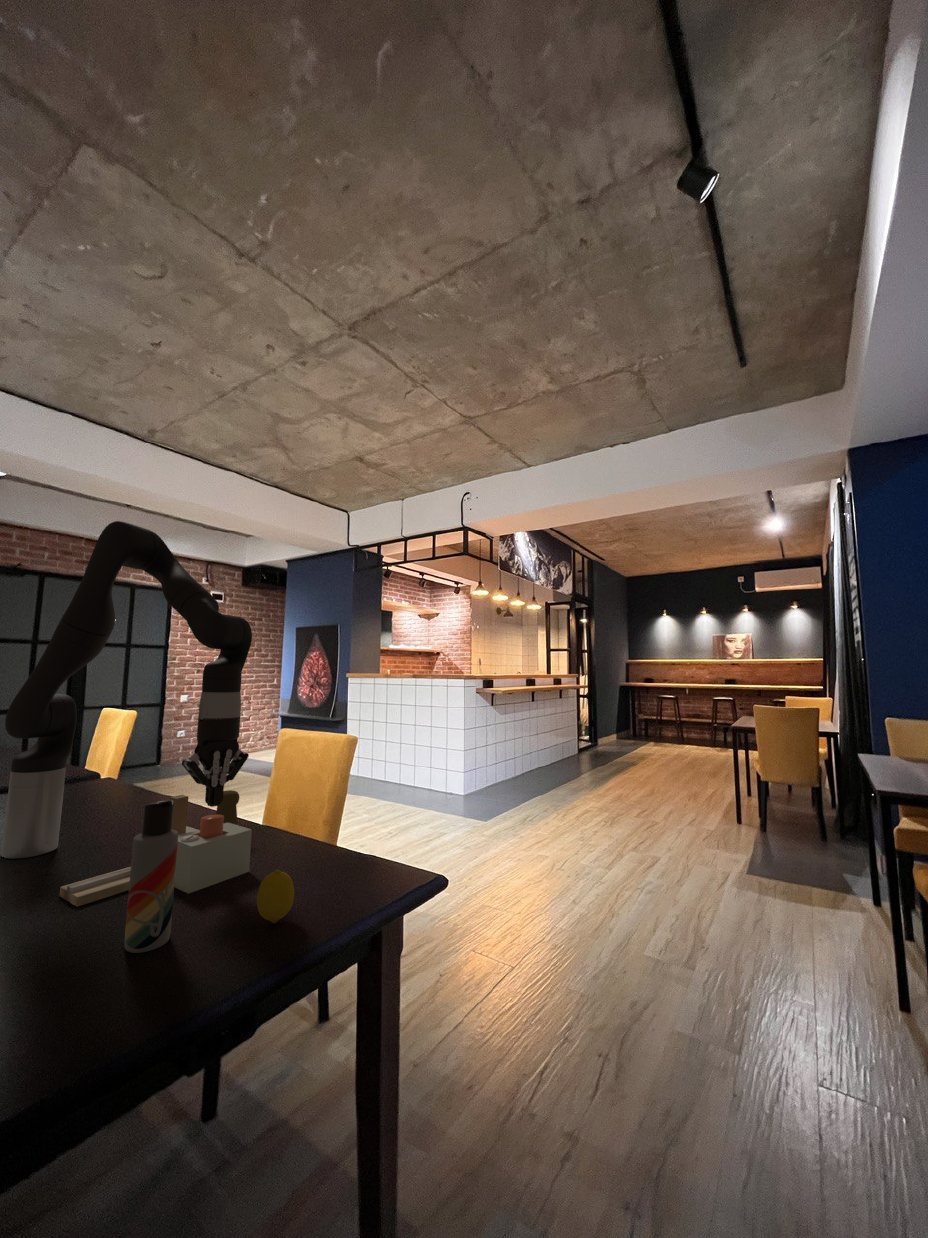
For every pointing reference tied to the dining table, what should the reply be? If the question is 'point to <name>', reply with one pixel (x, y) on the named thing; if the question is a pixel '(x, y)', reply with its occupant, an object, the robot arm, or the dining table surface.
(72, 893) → the rail
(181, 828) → the carriage
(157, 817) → the lotion bottle
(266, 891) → the lemon
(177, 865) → the cabinet
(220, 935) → the dining table surface
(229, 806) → the dark brown knob shape
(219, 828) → the gauge plunger
